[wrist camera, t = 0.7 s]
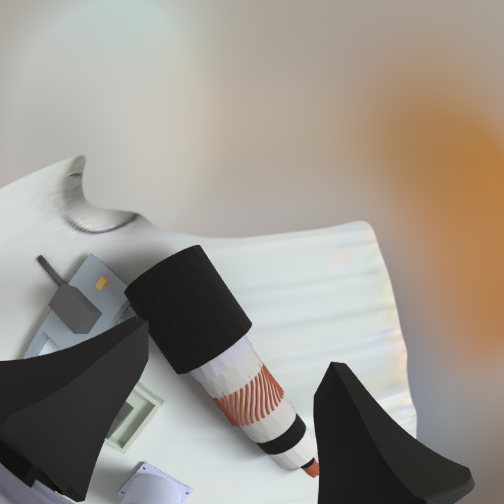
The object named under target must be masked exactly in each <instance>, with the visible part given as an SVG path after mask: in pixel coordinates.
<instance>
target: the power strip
mask: <svg viewBox="0 0 504 504" xmlns="http://www.w3.org/2000/svg"><path fill="white" fill-rule="evenodd" d="M38 261H39V262H40V264H41V265H42V266H43V267H44V269H45V270H46V271H47V272H48V273H49V275H50V276H51V277H52V278H53V279H54V281H55V282H56V283H57V284H58V285H59V286H60V288H59V289H58V291H57V292H56V294H55V295H54V297H53V298H52V300H51V301H50V303H49V307H50V308H51V310H50V312H49V313H48V315H47V317H46V318H45V320H44V321H43V323H42V325H41V326H40V328H39V330H38V331H37V333H36V335H35V337H34V338H33V340H32V342H31V344H30V346H29V347H28V349H27V351H26V353H25V355H24V357H23V359H26V358H31V357H36V356H38V355H39V353H40V351H41V350H42V348H43V346H44V344H45V343H46V341H47V339H48V338H50V339H51V341H52V342H53V343H54V344H55V345H56V346H57V347H58V348H59V349H60V350H63V349H66V348H68V347H71V346H74V345H76V344H78V343H81V342H83V341H85V340H88V339H90V338H92V337H95V336H97V335H99V334H101V333H103V332H105V331H107V330H109V329H111V328H113V327H114V326H115V324H116V323H117V321H118V320H119V319H120V317H121V316H122V315H123V313H124V312H125V310H126V309H127V308H128V306H129V305H130V302H129V301H128V299H127V297H126V296H125V294H124V291H125V289H126V288H127V287H128V285H127V284H126V283H124V282H123V281H122V280H121V279H120V278H119V277H118V276H117V275H116V274H114V273H113V272H112V271H111V270H110V269H109V268H108V267H107V266H106V265H105V264H104V263H103V262H102V261H101V260H99V259H98V258H97V257H96V256H95V255H93V254H92V253H90V255H89V256H88V257H87V259H86V260H85V261H84V263H83V264H82V265H81V267H80V268H79V269H78V271H77V272H76V273H75V275H74V276H73V278H72V279H71V280H70V282H69V283H68V284H66V283H65V282H64V281H63V280H62V279H61V278H60V276H59V275H58V274H57V273H56V272H55V271H54V270H53V268H52V267H51V266H50V265H49V264H48V262H47V261H46V260H45V259H44V257H43V256H42V255H40V256H39V257H38Z"/></svg>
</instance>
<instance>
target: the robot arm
mask: <svg viewBox="0 0 504 504" xmlns="http://www.w3.org/2000/svg"><path fill="white" fill-rule="evenodd" d="M148 323H149V321H148V320H145V319H142V318H139V317H136V316H134V317H132V318H130V319H128V320H126V321H124V322H122V323H120V324H118V325H116V326H115V327H113V328H111V329H109V330H107V331H105V332H103V333H101V334H99V335H97V336H95V337H92V338H90V339H88V340H85V341H83V342H81V343H78V344H76V345H74V346H71V347H68V348H66V349H63V350H60V351H56V352H53V353H50V354H46V355H41V356H36V357H31V358H26V359H19V360H9V361H0V504H74V503H72V502H70V501H69V500H67V499H65V498H64V497H62V496H60V495H59V494H57V493H56V492H55V491H57V492H58V493H60V494H61V495H63V496H64V495H65V496H67V497H69V498H70V499H72V500H74V501H76V502H81V501H84V500H85V498H86V494H87V490H88V486H89V483H90V479H91V476H92V473H93V470H94V467H95V464H96V461H97V458H98V455H99V453H100V450H101V448H102V445H103V443H104V440H105V438H106V436H107V434H108V431H109V429H110V427H111V425H112V423H113V421H114V419H115V417H116V416H117V414H118V413H119V411H120V409H121V408H122V406H123V405H124V403H125V401H126V400H127V398H128V397H129V395H130V393H131V392H132V390H133V389H134V387H135V385H136V384H137V382H138V381H139V379H140V377H141V375H142V372H143V370H144V368H145V366H146V364H147V361H148ZM313 418H314V426H315V435H316V443H317V451H318V460H319V492H318V504H454V503H456V502H457V501H458V500H460V499H461V498H463V497H464V496H466V495H467V494H468V493H469V492H470V491H472V489H473V488H474V486H475V483H474V480H473V477H472V475H471V472H470V470H469V468H467V467H465V466H462V465H460V464H458V463H455V462H453V461H451V460H449V459H447V458H444V457H443V456H441V455H439V454H437V453H436V452H434V451H432V450H431V449H429V448H427V447H426V446H425V445H423V444H422V443H420V442H419V441H417V440H416V439H415V438H414V437H412V436H411V435H410V434H409V433H407V432H406V431H405V430H404V429H403V428H402V427H401V426H399V425H398V424H397V423H396V422H395V421H394V420H393V419H392V418H391V417H390V416H389V415H388V414H387V413H386V412H385V411H384V410H383V408H382V407H381V406H380V405H379V404H378V403H377V402H376V401H375V399H374V398H373V397H372V396H371V395H370V393H369V392H368V391H367V390H366V388H365V387H364V386H363V385H362V383H361V382H360V381H359V380H358V378H357V377H356V376H355V374H354V373H353V372H352V371H351V369H350V368H349V367H348V366H347V365H346V364H345V363H338V362H331V363H330V365H329V367H328V369H327V371H326V373H325V375H324V377H323V379H322V381H321V383H320V385H319V387H318V389H317V391H316V393H315V395H314V407H313ZM143 467H145V468H146V469H144V468H143ZM122 491H123V492H124V493H123V492H122ZM186 492H188V493H186ZM191 493H192V489H191V488H189V487H187V486H185V485H183V484H181V483H179V482H178V481H176V480H174V479H172V478H170V477H169V476H167V475H165V474H164V473H162V472H160V471H159V470H157V469H155V468H154V467H152V466H150V465H149V464H147V463H143V464H142V465H141V467H140V468H139V469H138V470H137V471H136V472H135V474H134V475H133V476H132V477H131V478H130V479H129V481H128V482H127V483H126V484H125V485H124V486H123V487H122V489H121V490H120V491H119V492H118V493H117V495H118V496H119V497H120V498H122V500H121V502H120V503H119V504H181V503H182V502H183V501H184V500H185V499H186V498H187V497H188V496H189V495H190V494H191Z"/></svg>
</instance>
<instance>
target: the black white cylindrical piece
mask: <svg viewBox="0 0 504 504" xmlns="http://www.w3.org/2000/svg"><path fill="white" fill-rule="evenodd" d="M124 294H125V296H126V297H127V299H128V301H129V302H130V304H131V306H132V307H133V309H134V311H135V312H136V314H137V316H138V317H139V318H142V319H145V320H148V321H149V323H148V333H149V334H150V336H151V337H152V339H153V340H154V342H155V343H156V345H157V346H158V348H159V349H160V350H161V352H162V353H163V355H164V356H165V358H166V359H167V360H168V362H169V363H170V365H171V366H172V367H173V369H174V370H175V371H176V373H177V374H183V373H187V372H190V373H191V375H192V376H193V377H194V378H195V380H196V381H197V382H199V383H200V384H201V385H202V387H203V388H204V389H205V390H206V391H207V392H208V394H209V395H210V396H211V397H212V398H213V400H214V401H215V402H216V403H217V404H218V406H220V408H221V409H222V410H223V411H224V413H225V415H226V416H227V418H228V419H229V421H230V422H231V423H232V425H233V426H234V425H236V426H237V425H238V426H239V427H240V428H241V429H242V430H243V431H244V432H245V433H246V434H247V436H248V437H249V438H250V439H251V440H253V441H254V442H255V443H256V444H257V445H258V446H259V447H260V448H261V449H262V450H263V451H264V452H265V453H267V454H268V455H269V456H270V457H271V458H272V459H273V460H274V461H275V462H276V463H277V464H278V465H279V466H280V467H281V468H284V469H287V470H289V469H295V468H299V467H301V468H302V469H303V470H304V471H305V472H306V473H307V474H308V475H309V476H312V477H313V478H314V477H316V476H317V475H319V463H316V460H315V458H314V456H315V454H316V453H317V443H316V438H315V437H314V436H313V435H312V433H311V432H310V431H309V430H308V428H307V427H306V425H305V424H304V422H303V421H302V419H301V418H300V417H299V416H298V414H297V413H296V411H295V409H294V408H293V406H292V405H291V404H290V402H289V401H288V400H287V399H286V397H285V396H284V394H283V392H284V391H283V389H282V388H281V387H280V386H279V384H278V383H277V382H276V380H275V379H274V378H273V376H272V375H271V374H270V372H269V371H268V369H267V368H266V367H265V365H264V364H263V362H262V361H261V359H260V358H259V357H258V355H257V354H256V352H255V351H254V349H253V348H252V347H251V346H252V344H251V342H250V341H249V339H248V338H247V337H246V335H245V334H246V333H247V332H248V331H249V329H250V328H251V326H252V323H251V321H250V320H249V318H248V317H247V315H246V314H245V312H244V311H243V310H242V308H241V307H240V305H239V304H238V302H237V301H236V299H235V298H234V296H233V295H232V293H231V292H230V290H229V289H228V287H227V286H226V284H225V283H224V281H223V280H222V278H221V277H220V275H219V274H218V272H217V271H216V269H215V268H214V266H213V265H212V263H211V262H210V260H209V258H208V257H207V255H206V254H205V252H204V251H203V249H202V248H201V246H200V245H195V246H191V247H189V248H186V249H184V250H182V251H180V252H178V253H176V254H174V255H172V256H170V257H168V258H166V259H165V260H163V261H161V262H159V263H158V264H156V265H155V266H153V267H152V268H150V269H149V270H148V271H146V272H145V273H143V274H142V275H140V276H139V277H138V278H137V279H136V280H134V281H133V282H132V283H131V284H130V285H129V286H128V287H127V288H126V289H125V291H124Z"/></svg>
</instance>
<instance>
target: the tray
mask: <svg viewBox="0 0 504 504" xmlns="http://www.w3.org/2000/svg"><path fill="white" fill-rule="evenodd" d="M126 402H127V403H129V404H130V405H131V406H132V407H134V409H133V410H132V411H131V413H130V414H129V415H128V417H127V418H126V419H125V421H124V422H123V424H122V425H121V426H120V427H119V428H118V429H117V430H116V431H115V432H114V433H113V435H112V436H111V437H110V438H109V439H108V440H107V439H106V438H105V441H107V442H108V443H109V444H111V445H112V446H113V447H115V448H116V449H117V450H119V451H120V452H121V453H123V454H124V453H125V452H126V451H127V450H128V448H129V447H130V446H131V445H132V443H133V442H134V441H135V440H136V438H137V437H138V436H139V434H140V433H141V432H142V431H143V429H144V428H145V427H146V425H147V424H148V423H149V422H150V420H151V419H152V418H153V416H154V415H155V414H156V412H157V411H158V410H159V409H160V407H161V406H162V405H163V403H164V401H163V400H161V399H160V398H159V397H157V396H156V395H155V394H153V393H152V392H151V391H149V390H148V389H147V388H145V387H144V386H143V385H141V384H140V383H139V382H137V384H136V385H135V387H134V389H133V390H132V392H131V393H130V395H129V397H128V398H127V400H126Z"/></svg>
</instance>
